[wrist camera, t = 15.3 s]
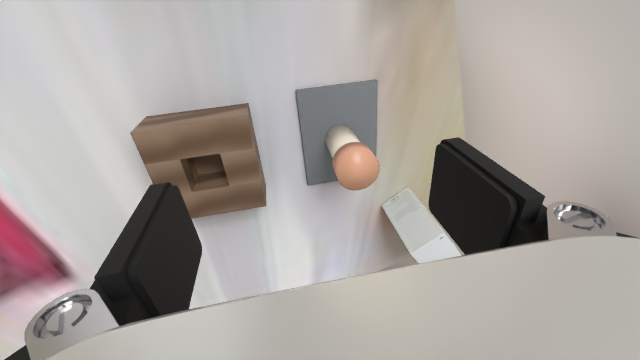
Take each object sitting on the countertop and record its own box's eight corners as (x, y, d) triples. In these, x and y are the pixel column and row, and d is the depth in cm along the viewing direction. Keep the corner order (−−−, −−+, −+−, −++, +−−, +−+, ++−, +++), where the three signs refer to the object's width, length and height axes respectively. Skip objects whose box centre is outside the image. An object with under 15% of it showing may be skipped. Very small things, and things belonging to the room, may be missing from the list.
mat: (295, 90, 43) (296, 91, 42) (376, 79, 44) (377, 80, 43) (307, 183, 51) (307, 185, 51) (374, 172, 52) (375, 174, 52)
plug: (320, 123, 45) (336, 155, 36) (356, 119, 46) (380, 148, 37) (323, 156, 48) (337, 193, 39) (356, 151, 49) (379, 186, 40)
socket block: (146, 116, 41) (130, 132, 36) (248, 103, 43) (246, 117, 37) (179, 198, 48) (170, 221, 43) (265, 185, 50) (266, 205, 45)
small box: (379, 204, 56) (408, 254, 45) (408, 185, 55) (444, 231, 44) (400, 228, 60) (431, 278, 49) (426, 210, 59) (464, 258, 48)
